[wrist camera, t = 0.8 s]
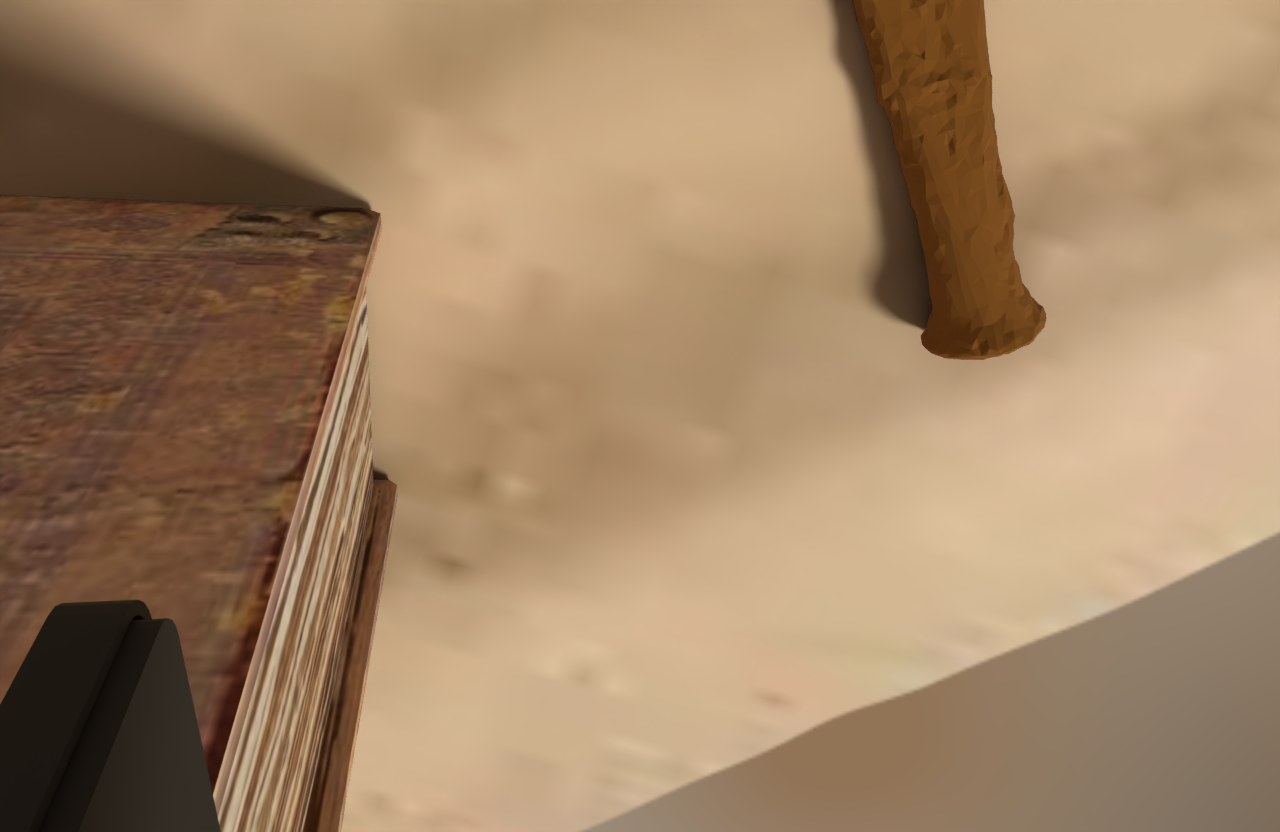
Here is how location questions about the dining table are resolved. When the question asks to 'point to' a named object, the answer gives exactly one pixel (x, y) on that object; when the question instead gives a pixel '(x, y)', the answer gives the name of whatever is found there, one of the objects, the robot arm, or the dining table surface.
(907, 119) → the primitive tool
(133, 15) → the dining table surface
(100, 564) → the book
